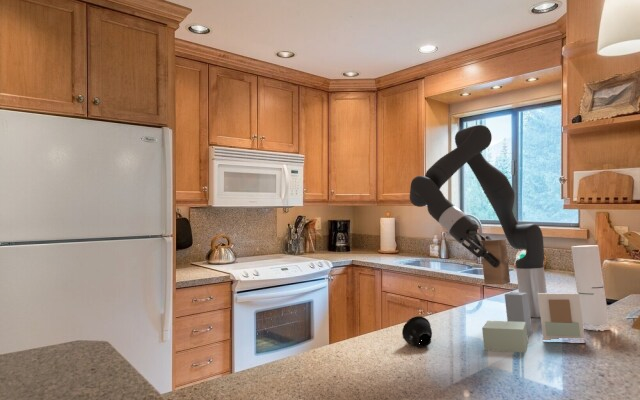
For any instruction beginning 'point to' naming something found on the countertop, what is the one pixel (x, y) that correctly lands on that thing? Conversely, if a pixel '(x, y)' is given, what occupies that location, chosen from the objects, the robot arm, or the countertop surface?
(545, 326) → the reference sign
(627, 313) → the countertop surface
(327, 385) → the countertop surface
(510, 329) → the sage base block
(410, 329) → the small rounded object
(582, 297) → the cylindrical container
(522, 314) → the slate block
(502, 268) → the walnut block
